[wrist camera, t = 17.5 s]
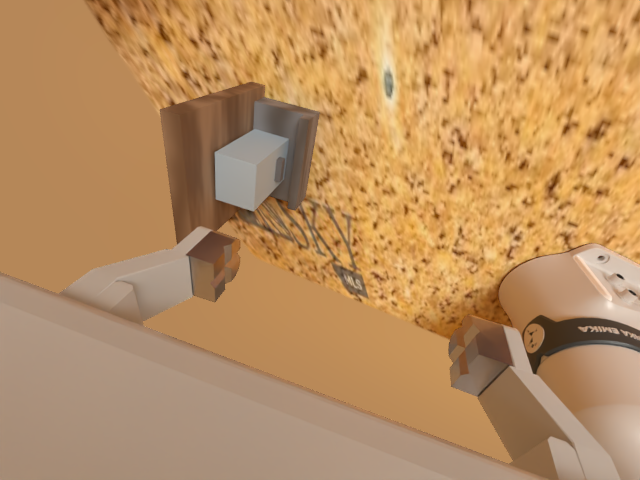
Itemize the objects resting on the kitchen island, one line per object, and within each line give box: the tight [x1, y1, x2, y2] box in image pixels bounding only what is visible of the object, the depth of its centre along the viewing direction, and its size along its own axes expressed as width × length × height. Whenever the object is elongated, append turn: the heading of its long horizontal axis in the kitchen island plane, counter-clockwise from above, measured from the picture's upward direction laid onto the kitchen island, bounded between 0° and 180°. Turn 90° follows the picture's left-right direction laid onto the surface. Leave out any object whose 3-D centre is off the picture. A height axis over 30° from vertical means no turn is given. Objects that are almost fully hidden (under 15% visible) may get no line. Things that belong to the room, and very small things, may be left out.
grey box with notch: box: [215, 129, 289, 211], centre depth 39 cm, size 6×6×10 cm
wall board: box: [160, 82, 320, 244], centre depth 38 cm, size 10×16×18 cm, turn 169°
